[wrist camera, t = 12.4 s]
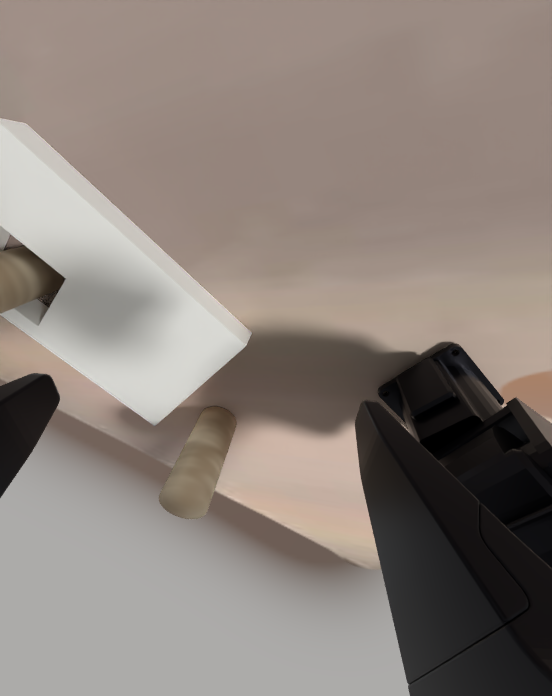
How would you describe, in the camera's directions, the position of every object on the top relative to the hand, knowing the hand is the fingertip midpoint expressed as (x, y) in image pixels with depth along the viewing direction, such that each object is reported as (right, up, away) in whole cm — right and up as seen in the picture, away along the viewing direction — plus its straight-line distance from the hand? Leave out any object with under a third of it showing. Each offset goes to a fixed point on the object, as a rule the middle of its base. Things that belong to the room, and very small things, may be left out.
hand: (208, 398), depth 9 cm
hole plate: (-10, +5, +13) cm, 18 cm away
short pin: (-3, -5, +18) cm, 19 cm away
